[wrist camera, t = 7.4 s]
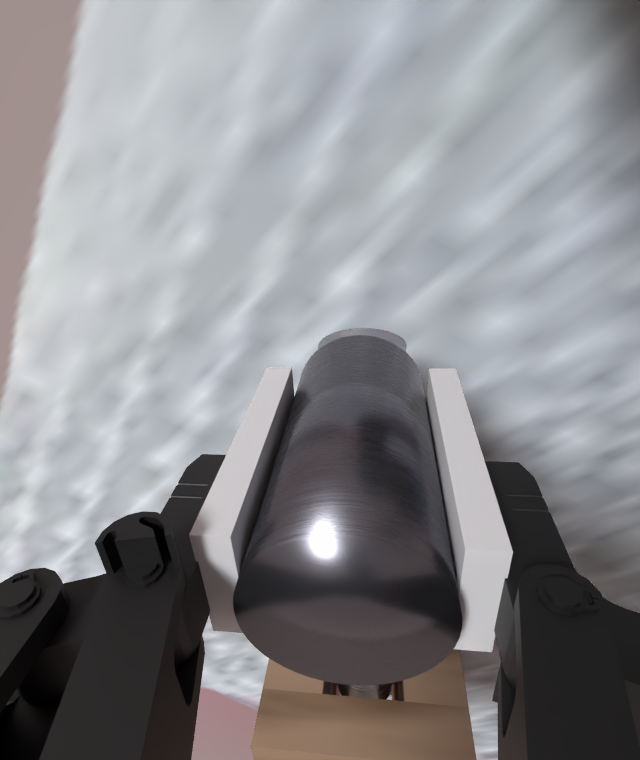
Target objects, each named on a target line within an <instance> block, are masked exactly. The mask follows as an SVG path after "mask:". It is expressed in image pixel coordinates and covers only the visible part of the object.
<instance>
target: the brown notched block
mask: <svg viewBox="0 0 640 760" xmlns="http://www.w3.org/2000/svg"><path fill="white" fill-rule="evenodd" d="M392 685H398V701H394V700H383V699H372V698H361V697H351V696H340V695H332V692H333V683H331V682H326V681H321V680H318V679H314V678H310V677H307V676H304V675H302V674H299V673H296V672H294V671H292V670H289V669H287V668H285V667H283V666H281V665H280V664H278V663H276V662H274V661H273V660H271V659H270V658H269V661H268V666H267V671H266V676H265V681H264V686H263V690H262V695H261V700H260V705H259V710H258V715H257V719H256V725H255V729H254V734H253V739H252V744H251V749H252V753H253V757H254V760H476V754H475V747H474V741H473V734H472V728H471V721H470V715H469V708H468V702H467V695H466V689H465V682H464V675H463V669H462V662H461V656H460V650H457V649H453V650H452V651H451V653H450V654H449V655H448V656H447V657H446V658H445V659H444V660H443V661H442V662H441V663H439V664H438V665H436V666H435V667H433V668H432V669H430V670H428V671H426V672H424V673H422V674H420V675H417V676H415V677H412V678H409V679H406V680H402V681H399V682H393V683H392Z"/></svg>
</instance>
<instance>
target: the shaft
mask: <svg viewBox="0 0 640 760" xmlns="http://www.w3.org/2000/svg"><path fill="white" fill-rule="evenodd" d="M233 609H234V614H235V617H236V620H237V623H238V625H239V627H240V629H241V630H242V632H243V633H244V635H245V636H246V637H247V639H248V640H249V641H250V642H251V643H252V644H253V645H254V646H255V647H256V648H257V649H258V650H259V651H260V652H262V653H263V654H264V655H265V656H267V657H268V658H270V659H271V660H273V661H274V662H276V663H278V664H280V665H281V666H283V667H285V668H287V669H289V670H292V671H294V672H296V673H299V674H302V675H304V676H307V677H310V678H314V679H318V680H321V681H326V682H331V683H337V685H338V689H339V691H340V693H341V695H342V696H351V697H361V698H372V699H383V700H386V699H387V698H388V696H389V694H390V691H391V687H392V683H393V682H399V681H402V680H406V679H409V678H412V677H415V676H417V675H420V674H422V673H424V672H426V671H428V670H430V669H432V668H433V667H435V666H436V665H438V664H439V663H441V662H442V661H443V660H444V659H445V658H446V657H447V656H448V655H449V654H450V653H451V651H452V650H453V649H454V647H455V646H456V644H457V642H458V640H459V638H460V634H461V630H462V613H461V607H460V601H459V595H458V589H457V583H456V577H455V571H454V565H453V559H452V553H451V547H450V542H449V536H448V530H447V524H446V518H445V512H444V506H443V500H442V494H441V488H440V482H439V476H438V470H437V464H436V459H435V453H434V447H433V441H432V435H431V429H430V423H429V417H428V411H427V405H426V399H425V393H424V387H423V382H422V377H421V374H420V371H419V369H418V367H417V365H416V364H415V362H414V361H413V359H412V358H411V357H410V356H409V355H408V354H407V353H406V342H405V341H404V340H403V339H402V338H401V337H400V336H398V335H396V334H394V333H391V332H388V331H384V330H379V329H370V328H357V329H348V330H342V331H338V332H335V333H332V334H330V335H328V336H326V337H325V338H323V339H322V340H321V341H320V343H319V345H318V350H317V351H316V352H315V353H314V354H313V355H312V356H311V358H310V359H309V360H308V362H307V363H306V365H305V367H304V369H303V372H302V375H301V378H300V382H299V385H298V388H297V391H296V394H295V398H294V401H293V404H292V407H291V410H290V414H289V417H288V420H287V423H286V426H285V430H284V433H283V436H282V439H281V442H280V446H279V449H278V452H277V455H276V458H275V462H274V465H273V468H272V471H271V474H270V478H269V481H268V484H267V487H266V490H265V494H264V497H263V500H262V503H261V506H260V510H259V513H258V516H257V519H256V522H255V526H254V529H253V532H252V535H251V538H250V542H249V545H248V548H247V551H246V555H245V558H244V561H243V564H242V567H241V571H240V574H239V577H238V580H237V583H236V587H235V590H234V594H233Z"/></svg>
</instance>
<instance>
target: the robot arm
mask: <svg viewBox="0 0 640 760" xmlns="http://www.w3.org/2000/svg"><path fill="white" fill-rule="evenodd" d="M293 401H294V388H293V376H292V367H267V368H266V370H265V373H264V375H263V377H262V379H261V381H260V383H259V385H258V388H257V390H256V392H255V394H254V396H253V398H252V401H251V403H250V405H249V407H248V409H247V411H246V413H245V416H244V418H243V420H242V422H241V424H240V426H239V429H238V431H237V433H236V435H235V437H234V439H233V441H232V444H231V446H230V448H229V450H228V452H227V454H226V455H209V454H202V455H201V456H200V457H198V458H197V459H196V460H195V461H194V462H193V463H191V464H190V465H189V466H188V467H187V468H186V470H185V472H184V473H183V475H182V477H181V479H180V480H179V482H178V483H179V484H178V485H177V486H176V488H175V489H174V491H173V493H172V495H171V498H169V500H168V502H167V504H166V505H165V507H164V509H163V511H162V512H161V514H159V513H156V512H139V513H135V514H130V515H127V516H125V517H123V518H121V519H119V520H117V521H115V522H113V523H112V524H111V525H110V526H108V527H107V528H106V529H105V530H104V531H102V533H101V534H100V536H99V537H98V539H97V540H96V542H95V545H96V547H97V550H98V552H99V555H100V557H101V560H102V563H103V565H104V568H105V570H106V574H103V575H99V576H96V577H91V578H87V579H82V580H78V581H73V582H68V583H64V584H63V583H62V581H61V579H60V577H59V576H58V575H57V573H56V572H55V571H52V570H49V569H46V568H38V569H29V570H27V571H24V572H21V573H18V574H15V575H13V576H12V577H10V578H8V579H7V580H5V581H3V582H2V583H0V760H191V756H192V748H193V741H194V733H195V724H196V717H197V709H198V702H199V694H200V686H201V678H202V670H203V663H204V655H205V650H204V641H203V637H202V633H203V631H204V628H205V625H206V622H207V619H208V616H209V615H210V619H211V623H212V627H213V630H214V631H227V632H240V633H243V632H242V630H241V629H240V627H239V625H238V623H237V620H236V617H235V614H234V609H233V594H234V590H235V587H236V583H237V580H238V577H239V574H240V571H241V567H242V564H243V561H244V558H245V555H246V551H247V548H248V545H249V542H250V538H251V535H252V532H253V529H254V526H255V522H256V519H257V516H258V513H259V510H260V506H261V503H262V500H263V497H264V494H265V490H266V487H267V484H268V481H269V478H270V474H271V471H272V468H273V465H274V462H275V458H276V455H277V452H278V449H279V446H280V442H281V439H282V436H283V433H284V430H285V426H286V423H287V420H288V417H289V414H290V410H291V407H292V404H293ZM426 405H427V411H428V417H429V423H430V429H431V435H432V441H433V447H434V453H435V459H436V464H437V470H438V476H439V482H440V488H441V494H442V500H443V506H444V512H445V518H446V524H447V530H448V536H449V542H450V547H451V553H452V559H453V565H454V571H455V577H456V583H457V589H458V595H459V601H460V607H461V613H462V630H461V634H460V638H459V640H458V642H457V644H456V646H455V647H454V649H457V650H470V651H482V652H492V650H493V645H494V640H495V636H496V640H497V645H498V649H499V654H500V658H501V664H500V669H499V673H498V678H497V682H496V686H495V691H494V695H493V700H492V701H494V702H498V760H640V613H637V612H634V611H630V610H627V609H625V608H622V607H620V606H618V605H615V604H613V603H611V602H609V601H608V600H606V599H604V598H603V597H602V595H601V593H600V592H599V591H598V590H597V589H596V588H595V586H594V585H593V584H592V583H591V582H590V581H589V580H587V579H586V578H584V577H583V576H581V575H580V574H578V573H577V572H576V570H575V569H574V567H573V564H572V562H571V560H570V558H569V555H568V553H567V551H566V549H565V546H564V544H563V542H562V539H561V537H560V535H559V533H558V530H557V528H556V526H555V523H554V521H553V519H552V517H551V514H550V513H548V508H547V505H546V503H545V501H544V498H542V494H541V492H540V489H539V487H538V485H537V482H536V480H535V478H534V477H533V476H532V475H531V474H530V473H529V472H528V471H527V470H526V469H525V468H524V467H523V466H522V465H521V464H520V463H515V462H485V461H484V457H483V454H482V451H481V448H480V445H479V441H478V438H477V435H476V432H475V429H474V425H473V422H472V419H471V416H470V413H469V409H468V406H467V403H466V400H465V397H464V393H463V390H462V387H461V384H460V381H459V377H458V374H457V371H456V369H439V368H429V372H428V386H427V401H426Z"/></svg>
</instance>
